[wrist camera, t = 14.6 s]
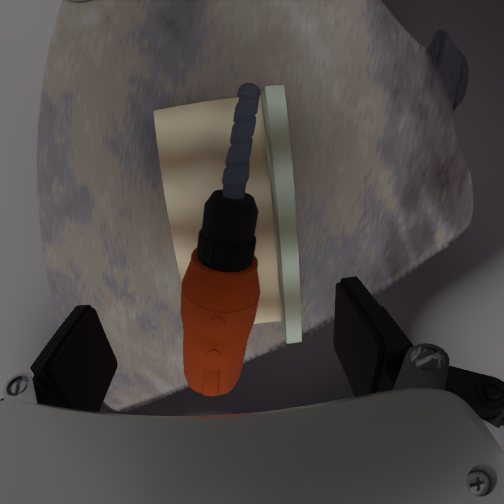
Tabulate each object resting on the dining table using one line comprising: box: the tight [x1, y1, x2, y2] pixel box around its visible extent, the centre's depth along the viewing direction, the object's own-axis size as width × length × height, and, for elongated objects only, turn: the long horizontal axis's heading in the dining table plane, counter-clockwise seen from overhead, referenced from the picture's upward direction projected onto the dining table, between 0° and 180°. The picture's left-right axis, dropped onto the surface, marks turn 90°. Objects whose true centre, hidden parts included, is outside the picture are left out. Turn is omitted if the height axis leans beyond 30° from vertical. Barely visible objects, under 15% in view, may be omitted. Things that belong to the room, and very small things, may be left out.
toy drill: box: [181, 83, 260, 396], centre depth 19 cm, size 5×19×15 cm, turn 171°
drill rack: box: [153, 85, 302, 344], centre depth 26 cm, size 22×11×6 cm, turn 6°
